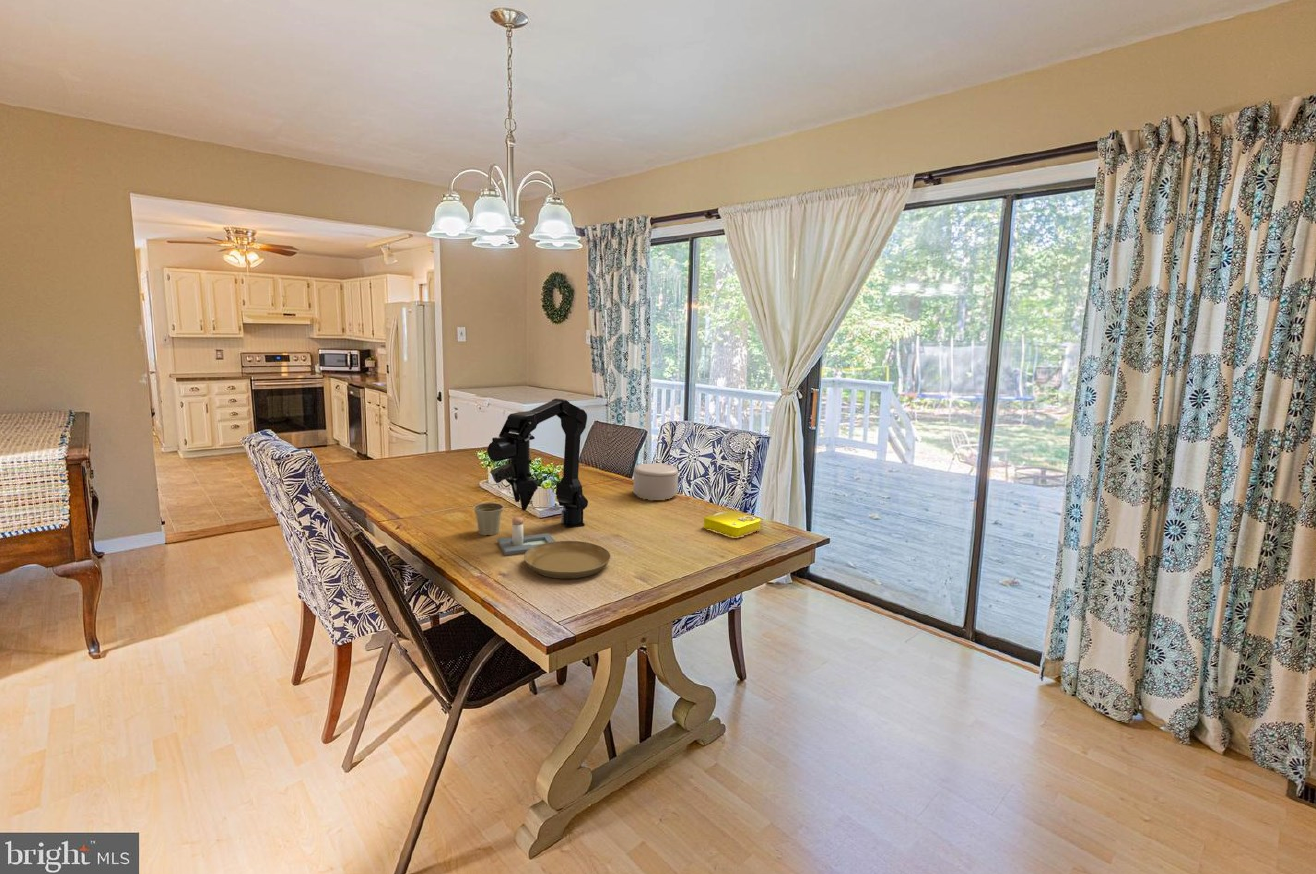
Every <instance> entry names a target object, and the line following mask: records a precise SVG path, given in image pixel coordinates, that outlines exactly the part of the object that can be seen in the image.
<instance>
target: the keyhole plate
mask: <svg viewBox="0 0 1316 874" xmlns="http://www.w3.org/2000/svg"><path fill="white" fill-rule="evenodd" d="M555 541H556V540H555V539H554V538H553V536H552V535H551V534H550V533H549V532H546V533H537V534H530V535H523V545H520V546H513V538H512V536H509V537H499V538H497V543H498V545H499V548H501V549H500V550H502V552H503V554H504V556H505V557H506V556H514V555H515V556H517V555H520V554H521V555H525V553H526V552H527V551H528V550H529V549H531V548H533V547H535V546H537V545H540V544H544V543H549V542H555Z"/></svg>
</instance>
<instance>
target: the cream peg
mask: <svg viewBox="0 0 1316 874" xmlns="http://www.w3.org/2000/svg"><path fill="white" fill-rule="evenodd" d="M511 520H512V521H511V522H512V523H511V524H512V528H511V529H512V534H511V535H512V536H511V537H512V538H513V546H520V545H523V536H524V518H523V517H512V519H511Z"/></svg>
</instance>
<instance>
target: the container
mask: <svg viewBox="0 0 1316 874" xmlns="http://www.w3.org/2000/svg"><path fill="white" fill-rule="evenodd" d="M632 485H633V486H632V487H633V494H635V495H636V496H637V498H639V497H640V498H639V499H641V498H643V499H642V500H645V499H648V500H647V501H653V500H662V501H666V500H665V499H669V498H671V497H673V496H674V497H675V496H678V491H679V490H678V488H679V470H678V468H677V467H675V466H674V465H671V464H666V463H660V462H659V463H658V462H657V463H655V462H653V463H652V462H649V463H642V464H638V465H636V466H634V468H633V484H632ZM674 497H673V498H674ZM669 500H670V499H669Z"/></svg>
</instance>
